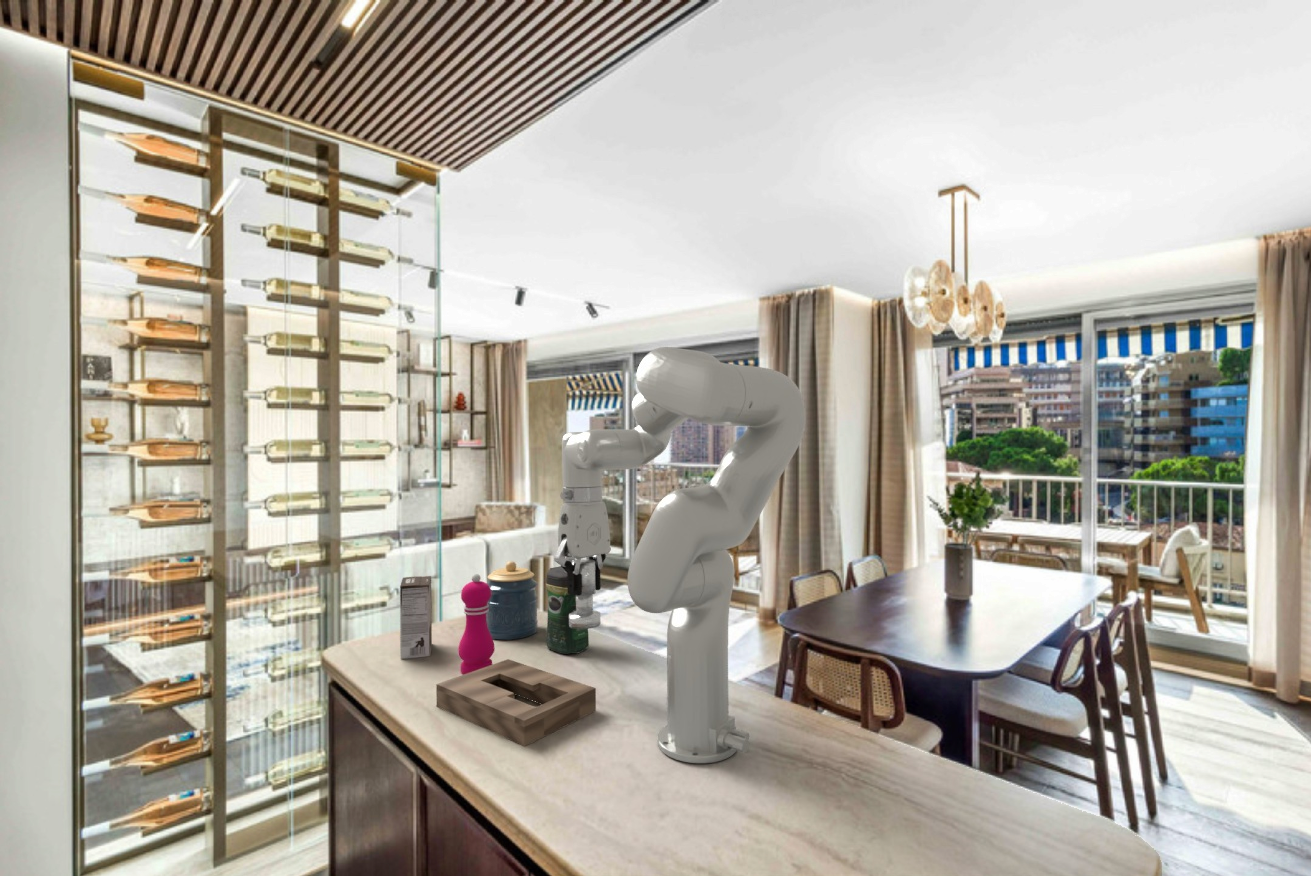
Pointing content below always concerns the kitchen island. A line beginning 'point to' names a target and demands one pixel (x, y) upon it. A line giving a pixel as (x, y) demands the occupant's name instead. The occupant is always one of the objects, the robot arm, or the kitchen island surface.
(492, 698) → the keyhole board
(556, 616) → the coffee jar
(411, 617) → the coffee box
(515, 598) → the canister
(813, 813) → the kitchen island surface
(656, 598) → the robot arm
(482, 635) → the pepper mill
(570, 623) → the steel peg
